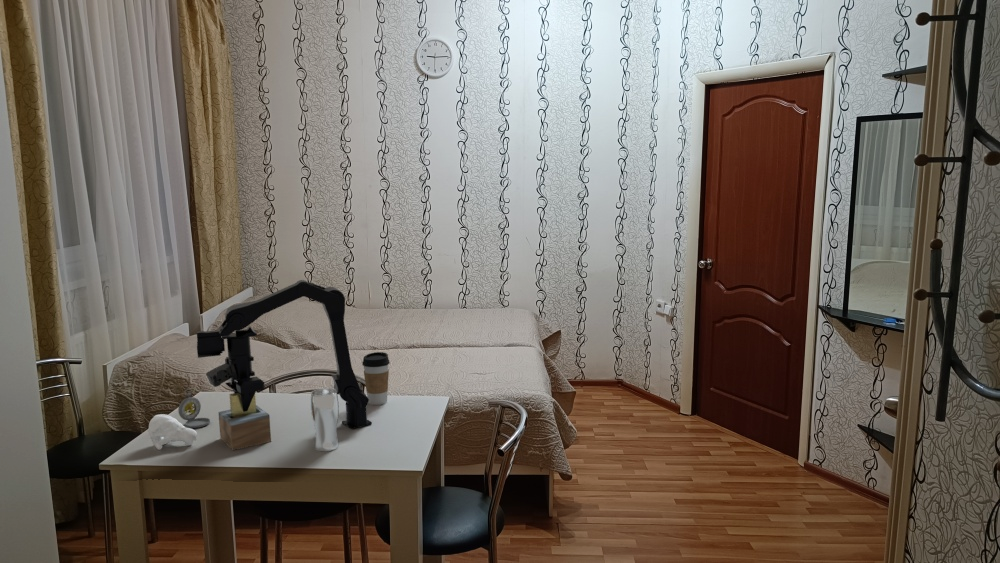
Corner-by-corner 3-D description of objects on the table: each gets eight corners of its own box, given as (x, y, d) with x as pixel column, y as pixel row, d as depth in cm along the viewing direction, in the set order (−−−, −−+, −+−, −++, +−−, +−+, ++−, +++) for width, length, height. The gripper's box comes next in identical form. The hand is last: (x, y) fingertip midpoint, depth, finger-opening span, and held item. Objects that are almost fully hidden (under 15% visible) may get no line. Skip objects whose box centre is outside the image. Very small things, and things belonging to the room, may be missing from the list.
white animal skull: (156, 410, 195) (201, 413, 195) (155, 440, 196) (200, 443, 197) (145, 418, 189) (192, 421, 189) (145, 449, 190) (191, 452, 190)
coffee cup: (396, 399, 229) (394, 352, 227) (383, 407, 222) (381, 359, 219) (372, 396, 232) (370, 351, 230) (358, 404, 224) (356, 357, 222)
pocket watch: (204, 429, 205) (201, 394, 204) (175, 429, 206) (172, 395, 204) (216, 419, 213) (213, 386, 212) (187, 419, 214) (185, 386, 212)
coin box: (271, 441, 195) (269, 414, 194) (233, 450, 189) (231, 422, 188) (257, 430, 204) (255, 404, 203) (220, 438, 198) (218, 411, 197)
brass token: (256, 413, 196) (254, 391, 195) (233, 418, 193) (232, 396, 192) (253, 410, 198) (251, 389, 197) (231, 415, 194) (229, 394, 194)
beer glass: (327, 454, 186) (323, 397, 183) (307, 449, 189) (304, 393, 187) (346, 445, 192) (343, 390, 189) (327, 440, 195) (324, 386, 193)
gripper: (197, 351, 195) (202, 407, 198) (218, 366, 181) (223, 426, 183) (239, 345, 202) (243, 399, 204) (263, 358, 187) (267, 416, 190)
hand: (243, 409), depth 195 cm, fingers closed on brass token, 2 cm apart
